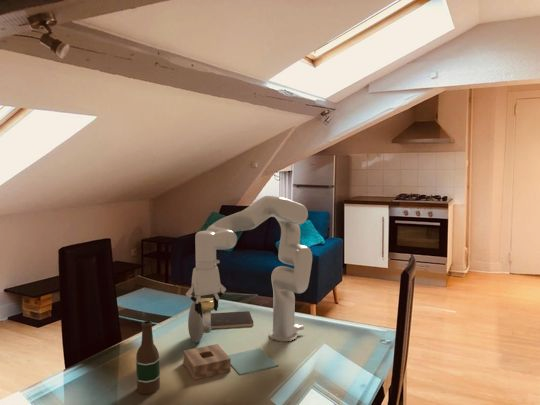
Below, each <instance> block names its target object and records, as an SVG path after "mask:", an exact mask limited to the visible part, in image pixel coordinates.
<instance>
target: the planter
mask: <svg viewBox="0 0 540 405" xmlns="http://www.w3.org/2000/svg"><path fill="white" fill-rule="evenodd" d="M200 299H202V298H201V297H200ZM188 312H189V313H188V320H187V324H188V326H187V327H188V328H187V330H188V334H189V337H190V340H191V341H192V342H193V343H194V344H197V343H199V342H200V341H201V340H202V338H203V335H204V334H205V333H204V332H203V311H200V314H198V313H197V312H196V311H195V302H194V301H193V300H192V304H191V306H190V307H189V311H188Z"/></svg>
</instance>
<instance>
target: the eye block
mask: <svg viewBox="0 0 540 405" xmlns="http://www.w3.org/2000/svg"><path fill="white" fill-rule="evenodd" d="M228 355H229V354H227V353H226V352H225V350H224V349H223V348H222V347H221V346H220V345H219V343H216V344H211V345H204V346H200V347H195V348H191V349H190V348H189V349H186V350H183V355H182V356H183V365H184V366H185V368H186V369H187V371H188V372H189V374H190V376H191V377H192V379H193V380H194V381H195V380H200V379H204V378H208V377H212V376H217V375H221V374H226V373H230V372H231V367H232V366H231V359H230V357H229V356H228Z"/></svg>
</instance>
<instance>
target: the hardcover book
mask: <svg viewBox="0 0 540 405" xmlns="http://www.w3.org/2000/svg"><path fill="white" fill-rule="evenodd" d="M254 323H255V322H254V320H253V318H252V314H251V312H250V311H249V310H248V311H247V310H246V311H245V310H244V311H229V312H228V311H227V312H211V330H212V329H225V328H240V327H241V328H242V327H253V326H254Z"/></svg>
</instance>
